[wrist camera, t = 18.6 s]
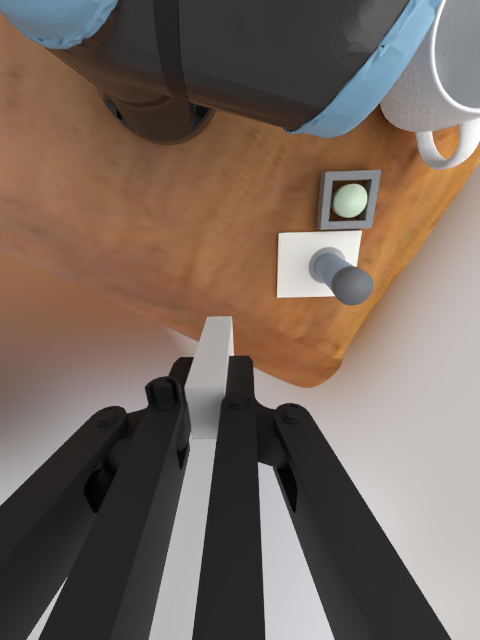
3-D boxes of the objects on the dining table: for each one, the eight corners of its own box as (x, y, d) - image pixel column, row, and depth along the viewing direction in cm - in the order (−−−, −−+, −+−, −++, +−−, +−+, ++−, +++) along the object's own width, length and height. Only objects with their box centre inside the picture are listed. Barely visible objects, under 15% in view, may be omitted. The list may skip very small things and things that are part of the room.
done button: (331, 185, 36) (337, 184, 33) (361, 184, 35) (369, 183, 33) (328, 216, 37) (334, 218, 35) (356, 215, 37) (364, 217, 35)
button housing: (320, 173, 35) (325, 171, 33) (373, 171, 35) (381, 169, 33) (316, 227, 38) (320, 229, 36) (364, 226, 38) (371, 228, 36)
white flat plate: (278, 232, 39) (279, 233, 38) (360, 230, 38) (362, 230, 38) (276, 296, 43) (277, 297, 42) (350, 294, 43) (352, 296, 42)
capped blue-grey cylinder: (312, 279, 41) (333, 305, 31) (314, 252, 39) (338, 271, 29) (339, 278, 41) (369, 304, 31) (342, 251, 39) (376, 269, 29)
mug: (457, 157, 34) (568, 136, 22) (371, 188, 36) (433, 183, 24) (457, 7, 28) (608, -130, 17) (355, 52, 30) (426, -43, 18)
